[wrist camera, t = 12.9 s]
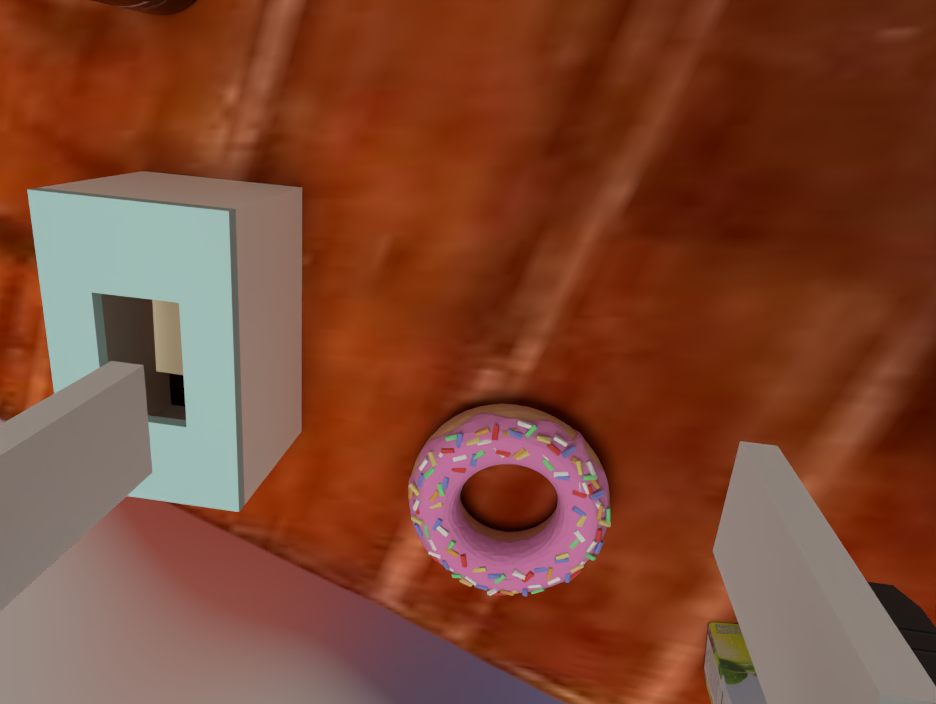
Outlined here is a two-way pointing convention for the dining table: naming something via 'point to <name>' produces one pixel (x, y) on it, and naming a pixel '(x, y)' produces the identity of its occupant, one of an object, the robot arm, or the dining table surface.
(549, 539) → the donut
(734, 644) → the snack box
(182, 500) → the box
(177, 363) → the beige rectangular block
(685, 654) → the dining table surface
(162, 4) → the supplement bottle
